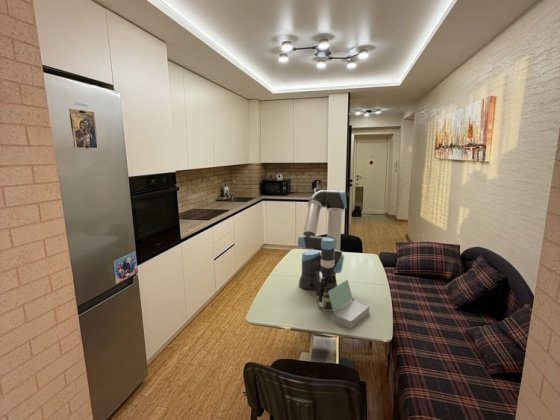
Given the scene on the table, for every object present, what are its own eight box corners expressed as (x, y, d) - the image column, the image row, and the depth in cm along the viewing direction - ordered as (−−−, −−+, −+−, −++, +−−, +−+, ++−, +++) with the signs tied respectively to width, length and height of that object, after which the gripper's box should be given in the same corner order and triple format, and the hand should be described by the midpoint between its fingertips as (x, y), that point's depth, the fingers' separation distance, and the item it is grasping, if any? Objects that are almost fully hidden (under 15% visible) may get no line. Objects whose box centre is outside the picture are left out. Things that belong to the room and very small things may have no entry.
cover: (334, 311, 157) (332, 311, 158) (352, 298, 170) (350, 298, 171) (329, 291, 157) (327, 291, 158) (347, 280, 171) (345, 280, 172)
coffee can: (328, 313, 165) (329, 289, 162) (313, 306, 172) (314, 283, 169) (339, 306, 172) (340, 283, 169) (324, 300, 179) (325, 278, 177)
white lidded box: (332, 321, 157) (332, 312, 156) (352, 306, 173) (352, 298, 172) (350, 329, 150) (350, 320, 149) (369, 312, 166) (370, 304, 165)
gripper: (321, 273, 157) (320, 313, 161) (344, 261, 173) (342, 297, 177) (309, 270, 162) (309, 308, 166) (332, 258, 178) (331, 293, 182)
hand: (326, 302), depth 172 cm, fingers closed on coffee can, 10 cm apart
